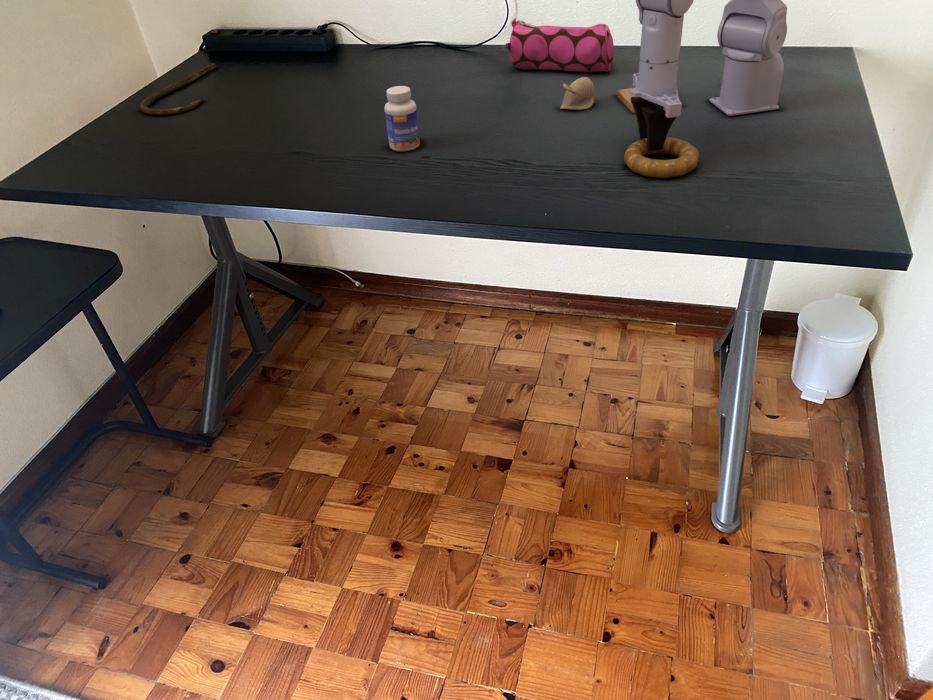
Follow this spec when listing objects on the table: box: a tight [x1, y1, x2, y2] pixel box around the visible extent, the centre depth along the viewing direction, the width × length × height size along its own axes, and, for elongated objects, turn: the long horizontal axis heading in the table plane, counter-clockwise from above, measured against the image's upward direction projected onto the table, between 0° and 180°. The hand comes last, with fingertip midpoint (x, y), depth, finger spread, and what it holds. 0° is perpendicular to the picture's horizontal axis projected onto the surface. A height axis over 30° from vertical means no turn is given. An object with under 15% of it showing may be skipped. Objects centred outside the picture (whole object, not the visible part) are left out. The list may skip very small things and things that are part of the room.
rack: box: [615, 87, 682, 114], centre depth 133 cm, size 9×9×6 cm
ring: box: [623, 136, 700, 179], centre depth 113 cm, size 11×11×3 cm
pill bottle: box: [383, 85, 421, 152], centre depth 124 cm, size 5×5×10 cm
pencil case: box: [505, 17, 615, 73], centre depth 149 cm, size 21×10×10 cm, turn 73°
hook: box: [139, 62, 217, 116], centre depth 158 cm, size 12×30×2 cm, turn 8°
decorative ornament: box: [559, 76, 595, 111], centre depth 134 cm, size 4×8×5 cm, turn 129°
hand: (651, 145), depth 117 cm, fingers closed on ring, 3 cm apart
